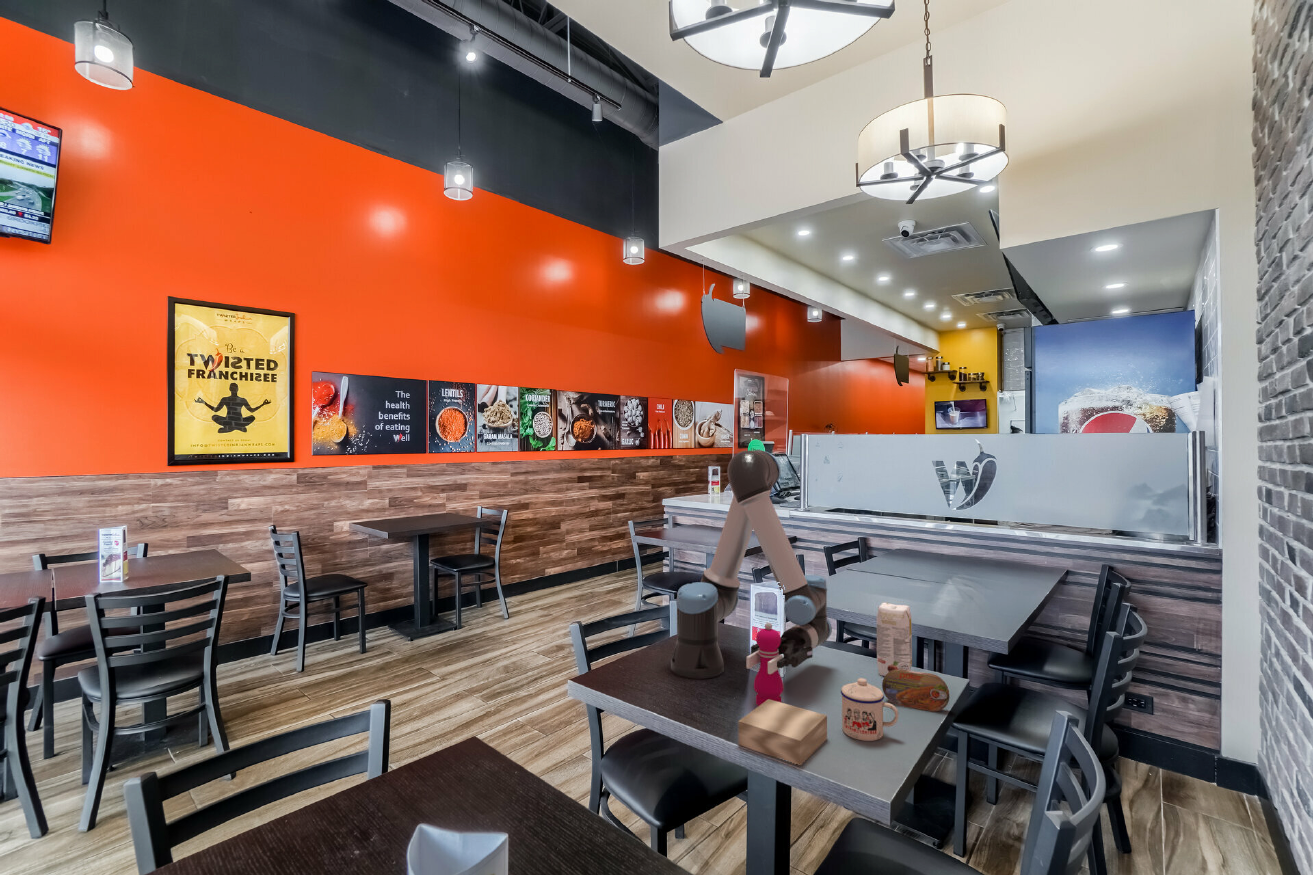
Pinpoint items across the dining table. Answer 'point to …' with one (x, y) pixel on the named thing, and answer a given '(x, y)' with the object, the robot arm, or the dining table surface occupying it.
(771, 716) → the birch block
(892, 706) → the teacup with lid
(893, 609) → the juice carton
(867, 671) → the dining table surface
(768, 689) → the pepper mill
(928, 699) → the tin
